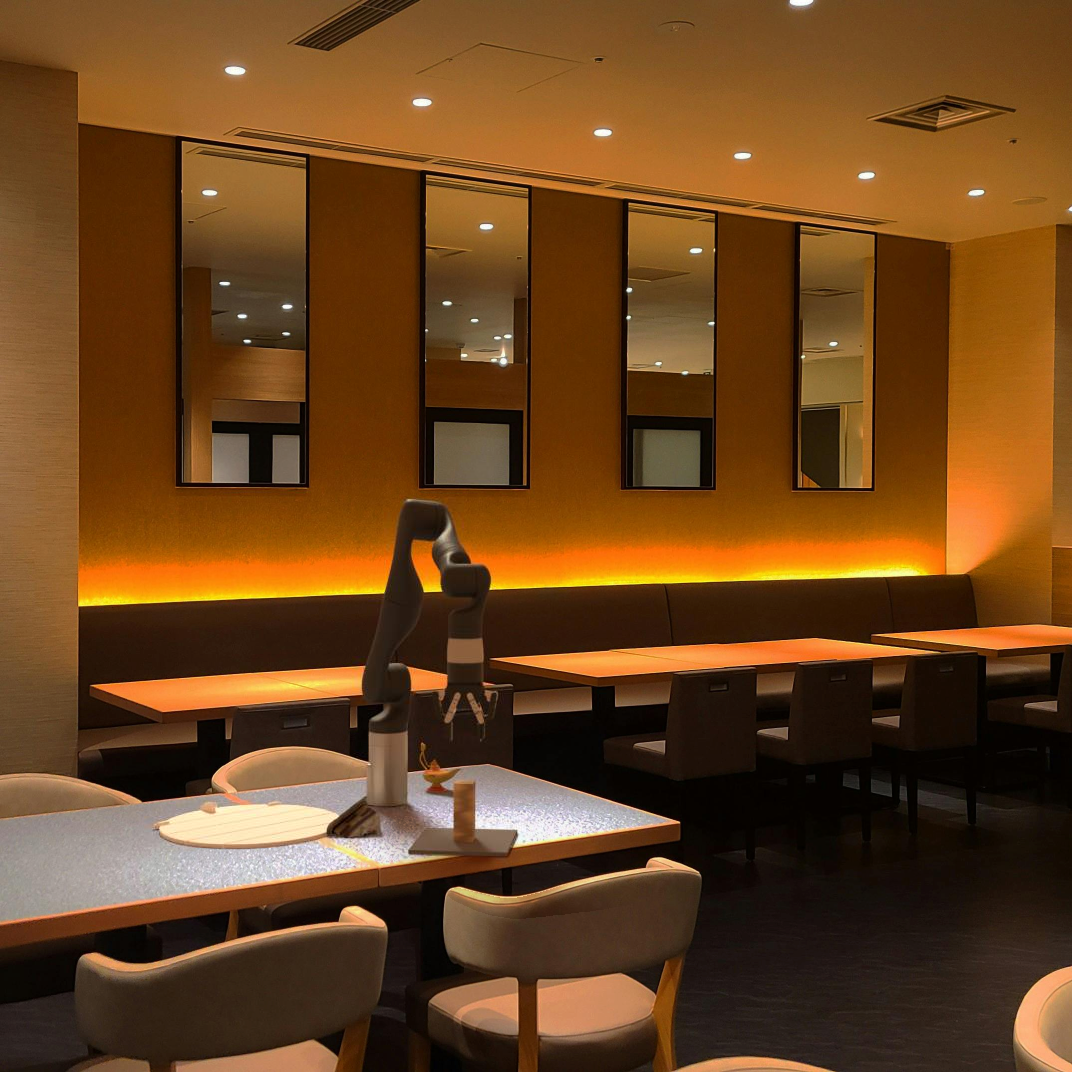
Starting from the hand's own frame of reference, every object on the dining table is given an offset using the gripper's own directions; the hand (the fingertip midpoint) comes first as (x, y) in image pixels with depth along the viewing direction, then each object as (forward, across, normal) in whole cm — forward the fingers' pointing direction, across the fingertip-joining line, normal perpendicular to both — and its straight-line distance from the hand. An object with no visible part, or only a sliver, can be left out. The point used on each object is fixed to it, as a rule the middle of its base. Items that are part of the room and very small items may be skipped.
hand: (464, 740), depth 272 cm
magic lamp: (+22, -14, +54) cm, 60 cm away
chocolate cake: (+22, -24, +7) cm, 33 cm away
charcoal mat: (+21, 0, 0) cm, 21 cm away
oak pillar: (+21, 0, 0) cm, 21 cm away
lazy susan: (+22, -49, +11) cm, 55 cm away
